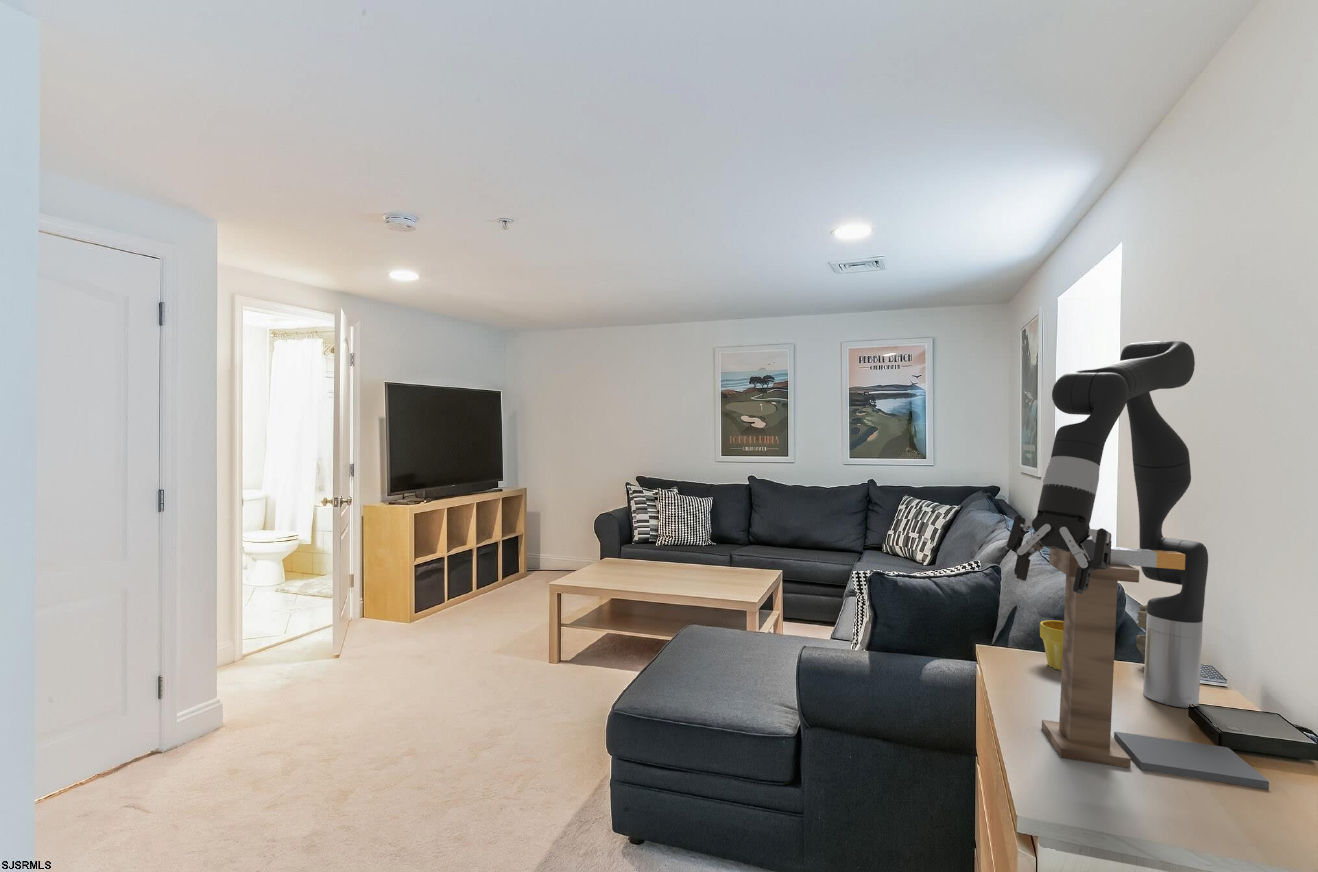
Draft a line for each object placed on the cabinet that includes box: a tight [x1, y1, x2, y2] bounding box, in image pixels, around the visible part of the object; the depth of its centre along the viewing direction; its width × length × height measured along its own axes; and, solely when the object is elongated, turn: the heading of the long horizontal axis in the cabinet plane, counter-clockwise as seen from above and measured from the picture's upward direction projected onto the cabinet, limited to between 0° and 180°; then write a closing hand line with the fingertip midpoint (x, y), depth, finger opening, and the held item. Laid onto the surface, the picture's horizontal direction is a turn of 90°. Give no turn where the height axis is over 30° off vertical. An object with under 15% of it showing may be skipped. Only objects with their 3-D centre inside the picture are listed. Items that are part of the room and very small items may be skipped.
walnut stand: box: [1041, 548, 1140, 769], centre depth 117 cm, size 12×10×35 cm
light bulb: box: [1136, 604, 1147, 665], centre depth 161 cm, size 6×6×15 cm
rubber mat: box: [1113, 731, 1270, 790], centre depth 113 cm, size 12×17×1 cm
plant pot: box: [1039, 619, 1064, 671], centre depth 159 cm, size 10×10×10 cm
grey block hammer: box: [1082, 536, 1185, 570], centre depth 115 cm, size 5×16×4 cm, turn 74°
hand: (1048, 586), depth 109 cm, fingers open, 8 cm apart
